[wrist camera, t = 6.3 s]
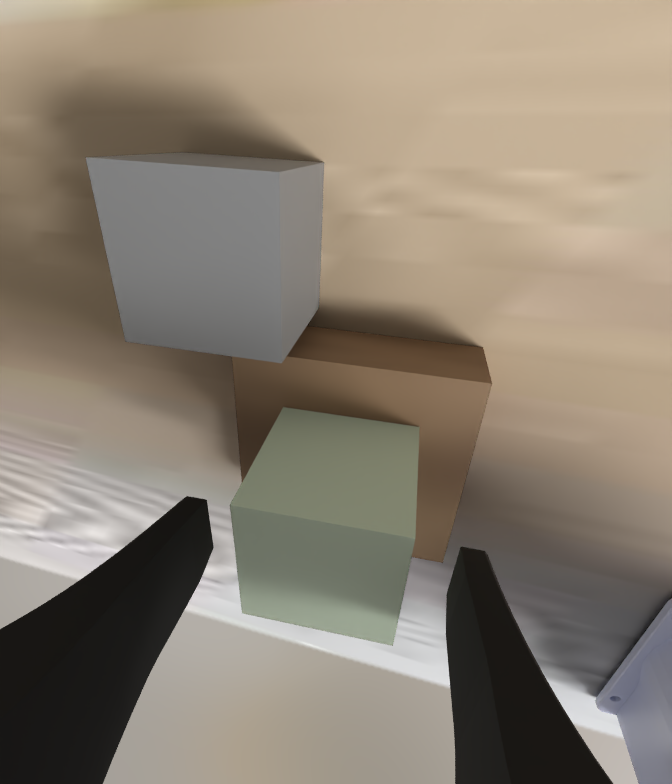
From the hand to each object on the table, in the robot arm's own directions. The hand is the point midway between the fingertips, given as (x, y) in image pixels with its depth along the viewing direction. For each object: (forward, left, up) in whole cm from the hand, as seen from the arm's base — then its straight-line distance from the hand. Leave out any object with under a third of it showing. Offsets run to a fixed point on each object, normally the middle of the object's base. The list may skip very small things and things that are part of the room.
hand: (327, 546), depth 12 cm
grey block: (+7, +4, -6) cm, 10 cm away
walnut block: (0, 0, -6) cm, 6 cm away
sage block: (0, 0, -3) cm, 4 cm away
